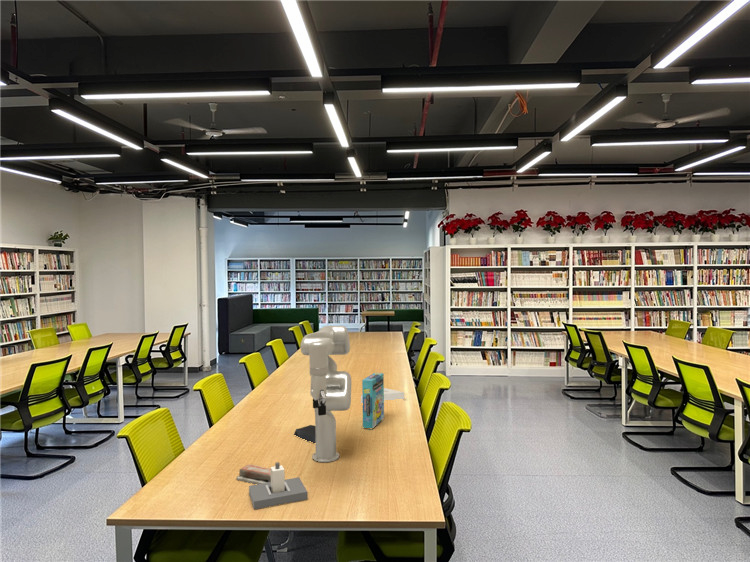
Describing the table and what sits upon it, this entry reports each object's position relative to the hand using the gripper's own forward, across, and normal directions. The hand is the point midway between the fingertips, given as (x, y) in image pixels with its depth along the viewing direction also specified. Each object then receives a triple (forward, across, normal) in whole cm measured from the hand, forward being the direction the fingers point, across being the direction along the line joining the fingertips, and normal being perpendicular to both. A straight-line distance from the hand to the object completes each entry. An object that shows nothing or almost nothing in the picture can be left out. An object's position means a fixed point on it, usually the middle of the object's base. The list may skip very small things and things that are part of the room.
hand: (319, 411), depth 200 cm
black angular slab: (+31, -50, +8) cm, 60 cm away
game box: (+32, -59, +45) cm, 81 cm away
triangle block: (+34, -104, +62) cm, 126 cm away
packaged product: (+29, -8, -24) cm, 39 cm away
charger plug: (+28, +10, -19) cm, 36 cm away
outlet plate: (+28, +11, -19) cm, 36 cm away
